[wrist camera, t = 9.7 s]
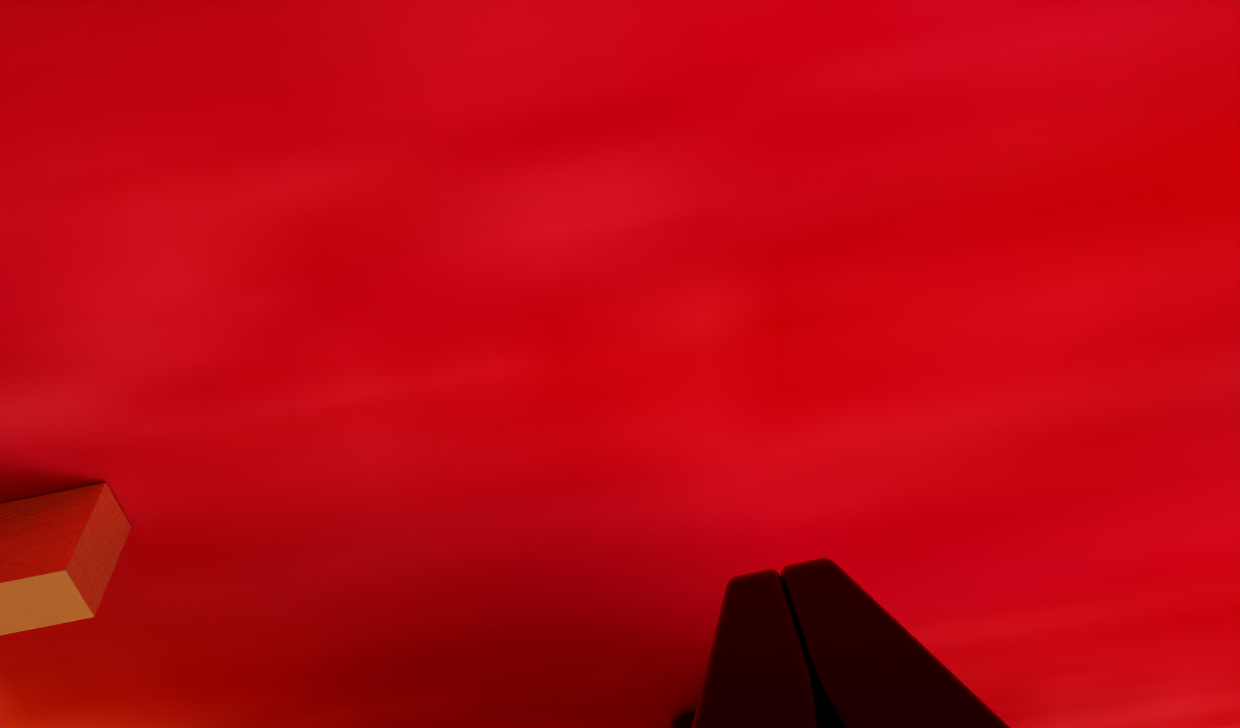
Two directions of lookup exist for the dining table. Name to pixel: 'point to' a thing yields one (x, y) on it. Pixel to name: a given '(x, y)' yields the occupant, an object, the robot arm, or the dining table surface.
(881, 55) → the dining table surface
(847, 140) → the dining table surface
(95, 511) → the mount cradle
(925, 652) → the robot arm
